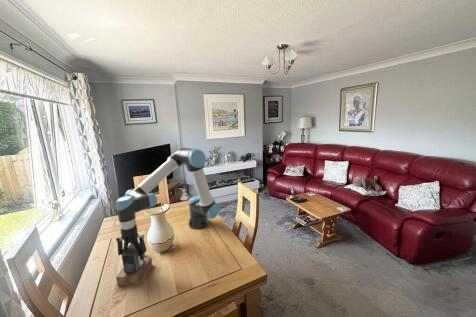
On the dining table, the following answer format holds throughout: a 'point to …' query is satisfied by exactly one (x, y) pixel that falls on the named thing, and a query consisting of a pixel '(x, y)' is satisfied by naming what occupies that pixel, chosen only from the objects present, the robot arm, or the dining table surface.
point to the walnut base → (135, 274)
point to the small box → (130, 259)
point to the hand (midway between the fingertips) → (134, 265)
